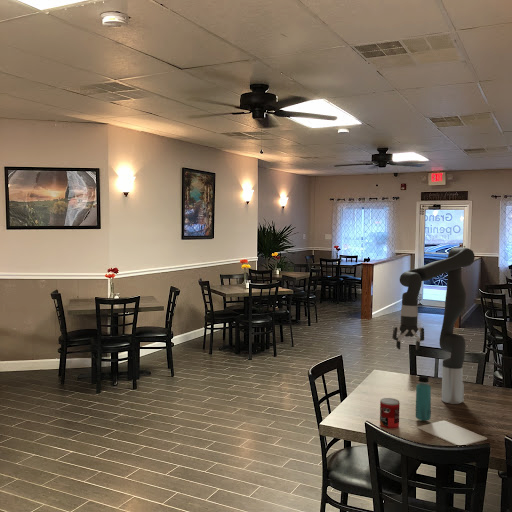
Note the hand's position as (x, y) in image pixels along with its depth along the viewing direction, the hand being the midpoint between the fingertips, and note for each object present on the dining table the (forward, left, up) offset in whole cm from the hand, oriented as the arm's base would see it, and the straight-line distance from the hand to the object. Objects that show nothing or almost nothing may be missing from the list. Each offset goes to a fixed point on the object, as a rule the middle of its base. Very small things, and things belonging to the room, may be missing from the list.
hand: (407, 349), depth 248 cm
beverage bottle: (+3, +17, -28) cm, 33 cm away
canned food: (+20, +17, -28) cm, 39 cm away
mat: (+1, +32, -28) cm, 43 cm away
